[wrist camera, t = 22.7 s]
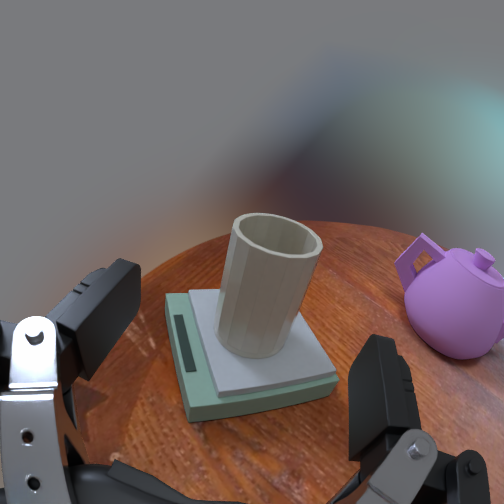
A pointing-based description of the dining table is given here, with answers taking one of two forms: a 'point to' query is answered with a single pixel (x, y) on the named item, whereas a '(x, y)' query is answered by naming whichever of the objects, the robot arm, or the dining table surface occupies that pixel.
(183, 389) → the scale
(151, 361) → the dining table surface
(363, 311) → the dining table surface
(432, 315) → the teapot
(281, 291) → the tumbler
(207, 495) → the dining table surface
